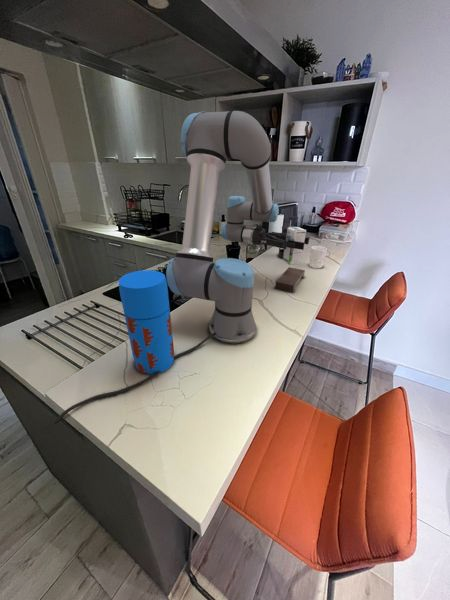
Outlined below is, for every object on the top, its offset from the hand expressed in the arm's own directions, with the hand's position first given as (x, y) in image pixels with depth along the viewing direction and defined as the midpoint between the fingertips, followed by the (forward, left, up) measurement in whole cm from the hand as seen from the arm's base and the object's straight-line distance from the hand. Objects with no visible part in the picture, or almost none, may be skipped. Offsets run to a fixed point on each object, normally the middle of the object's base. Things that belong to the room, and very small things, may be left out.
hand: (306, 243), depth 104 cm
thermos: (-67, +23, -20) cm, 74 cm away
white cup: (+32, -1, -20) cm, 38 cm away
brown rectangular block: (+4, +5, -20) cm, 21 cm away
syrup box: (0, +5, -9) cm, 10 cm away
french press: (+39, +17, -20) cm, 47 cm away
